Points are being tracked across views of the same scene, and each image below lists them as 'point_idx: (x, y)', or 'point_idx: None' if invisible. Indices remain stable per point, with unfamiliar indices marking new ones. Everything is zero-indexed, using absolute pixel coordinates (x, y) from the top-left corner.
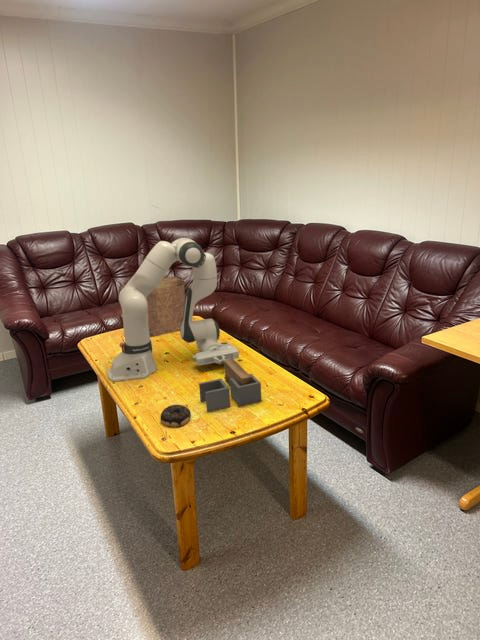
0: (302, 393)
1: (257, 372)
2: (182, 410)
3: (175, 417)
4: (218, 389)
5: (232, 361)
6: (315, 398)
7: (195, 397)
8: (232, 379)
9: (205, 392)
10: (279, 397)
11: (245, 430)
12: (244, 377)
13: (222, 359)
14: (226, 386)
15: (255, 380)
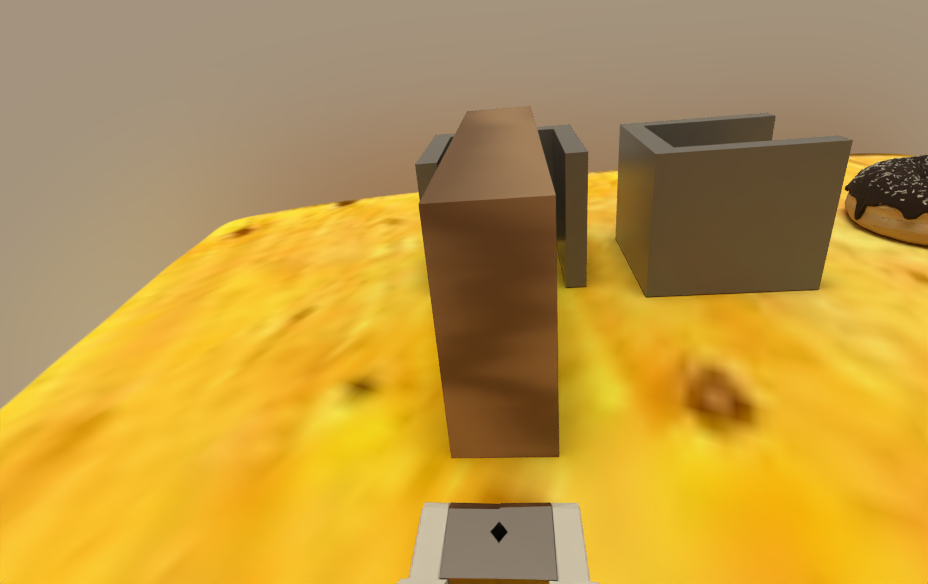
0: (242, 246)
1: (130, 493)
2: (906, 171)
3: (925, 155)
4: (687, 121)
5: (467, 177)
6: (245, 225)
7: (882, 326)
8: (572, 148)
9: (773, 117)
10: (351, 245)
11: (594, 176)
12: (507, 109)
13: (472, 536)
14: (633, 127)
15: (444, 141)
